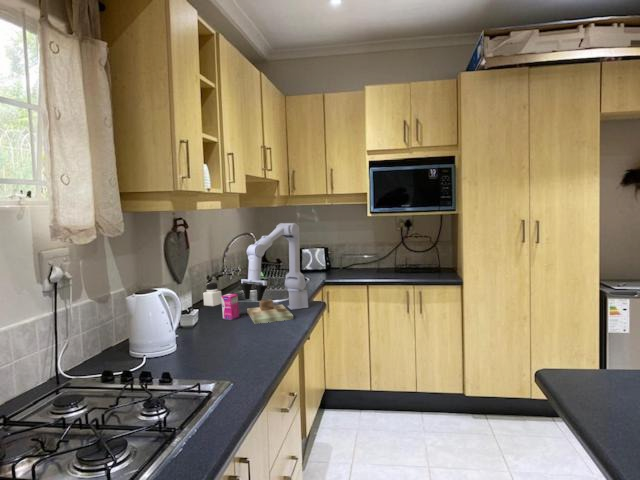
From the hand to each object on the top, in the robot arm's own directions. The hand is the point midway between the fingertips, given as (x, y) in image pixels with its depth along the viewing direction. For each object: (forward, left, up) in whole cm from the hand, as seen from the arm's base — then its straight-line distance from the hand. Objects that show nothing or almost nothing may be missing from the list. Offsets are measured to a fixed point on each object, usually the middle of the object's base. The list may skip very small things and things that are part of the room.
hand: (253, 300), depth 212 cm
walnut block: (-9, -16, -8) cm, 20 cm away
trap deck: (-9, -9, -10) cm, 16 cm away
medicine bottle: (+15, -49, -11) cm, 52 cm away
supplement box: (+9, -13, -11) cm, 19 cm away
